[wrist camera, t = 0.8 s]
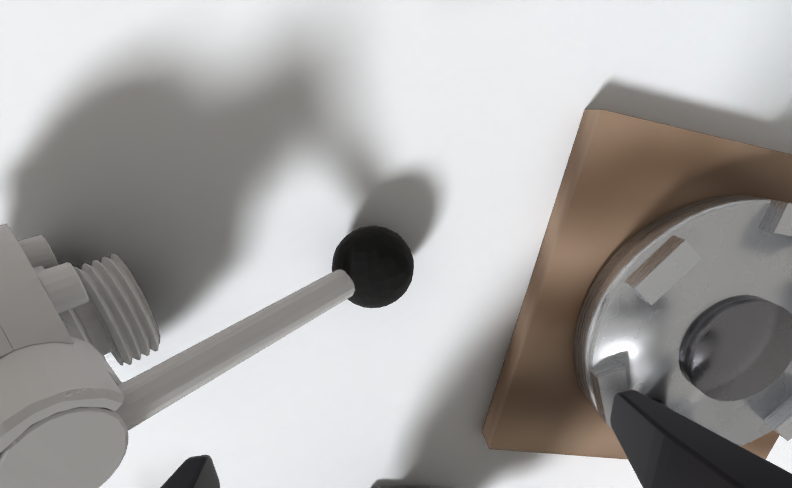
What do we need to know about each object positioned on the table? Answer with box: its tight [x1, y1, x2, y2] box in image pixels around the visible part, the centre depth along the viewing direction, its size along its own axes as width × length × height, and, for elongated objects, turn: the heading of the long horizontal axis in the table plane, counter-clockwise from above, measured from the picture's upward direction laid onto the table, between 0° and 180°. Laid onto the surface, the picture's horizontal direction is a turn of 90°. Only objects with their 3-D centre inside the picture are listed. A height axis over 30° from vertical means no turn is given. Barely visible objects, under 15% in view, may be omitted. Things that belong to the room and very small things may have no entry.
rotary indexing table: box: [573, 195, 792, 446], centre depth 21 cm, size 16×16×6 cm
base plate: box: [482, 109, 792, 459], centre depth 25 cm, size 21×21×2 cm
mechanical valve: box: [0, 224, 414, 488], centre depth 20 cm, size 10×18×15 cm
